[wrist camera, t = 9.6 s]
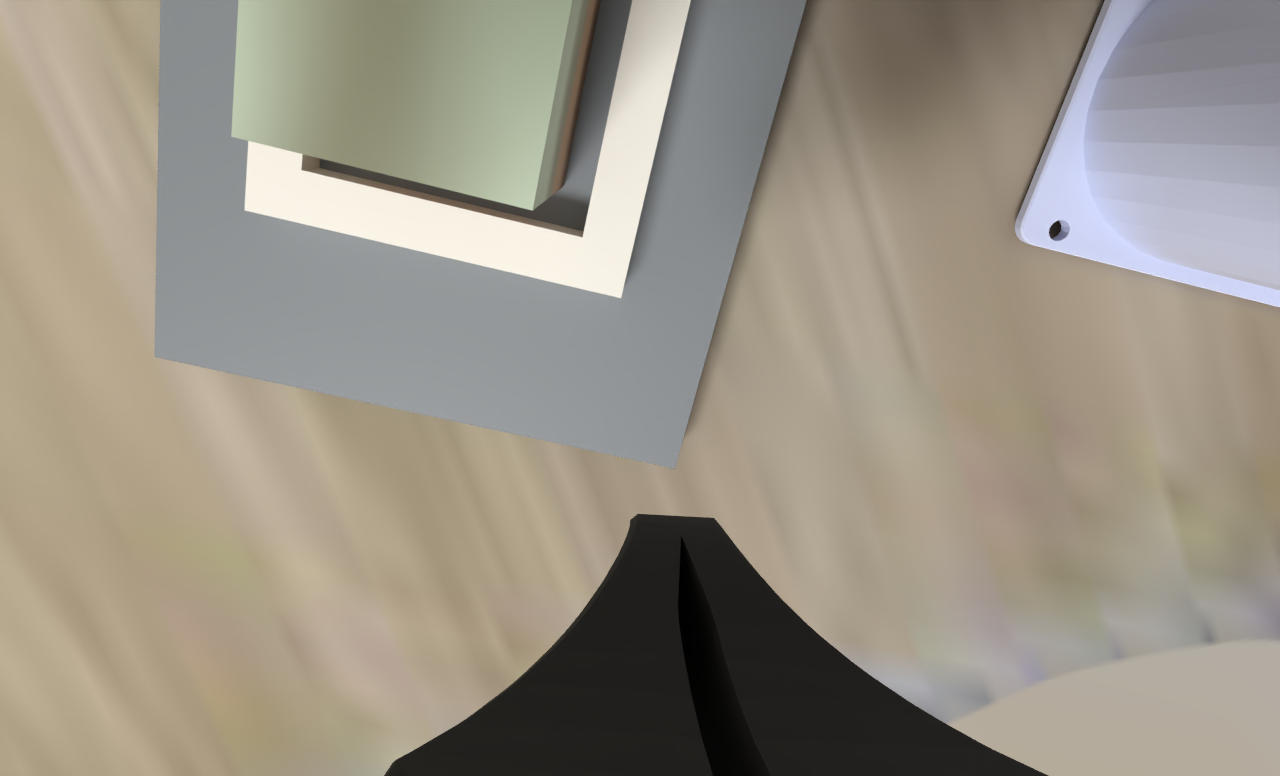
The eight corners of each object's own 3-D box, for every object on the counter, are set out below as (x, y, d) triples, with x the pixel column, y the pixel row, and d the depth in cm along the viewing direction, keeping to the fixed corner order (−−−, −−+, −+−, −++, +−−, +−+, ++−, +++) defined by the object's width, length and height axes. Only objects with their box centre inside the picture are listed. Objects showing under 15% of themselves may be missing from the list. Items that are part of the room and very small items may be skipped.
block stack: (609, -43, 16) (596, -129, 11) (563, 186, 18) (532, 211, 12) (381, -107, 16) (250, -229, 10) (355, 134, 17) (231, 136, 12)
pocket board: (882, -305, 15) (921, -372, 13) (672, 450, 21) (676, 485, 19) (206, -517, 14) (134, -627, 12) (181, 343, 20) (129, 368, 18)
